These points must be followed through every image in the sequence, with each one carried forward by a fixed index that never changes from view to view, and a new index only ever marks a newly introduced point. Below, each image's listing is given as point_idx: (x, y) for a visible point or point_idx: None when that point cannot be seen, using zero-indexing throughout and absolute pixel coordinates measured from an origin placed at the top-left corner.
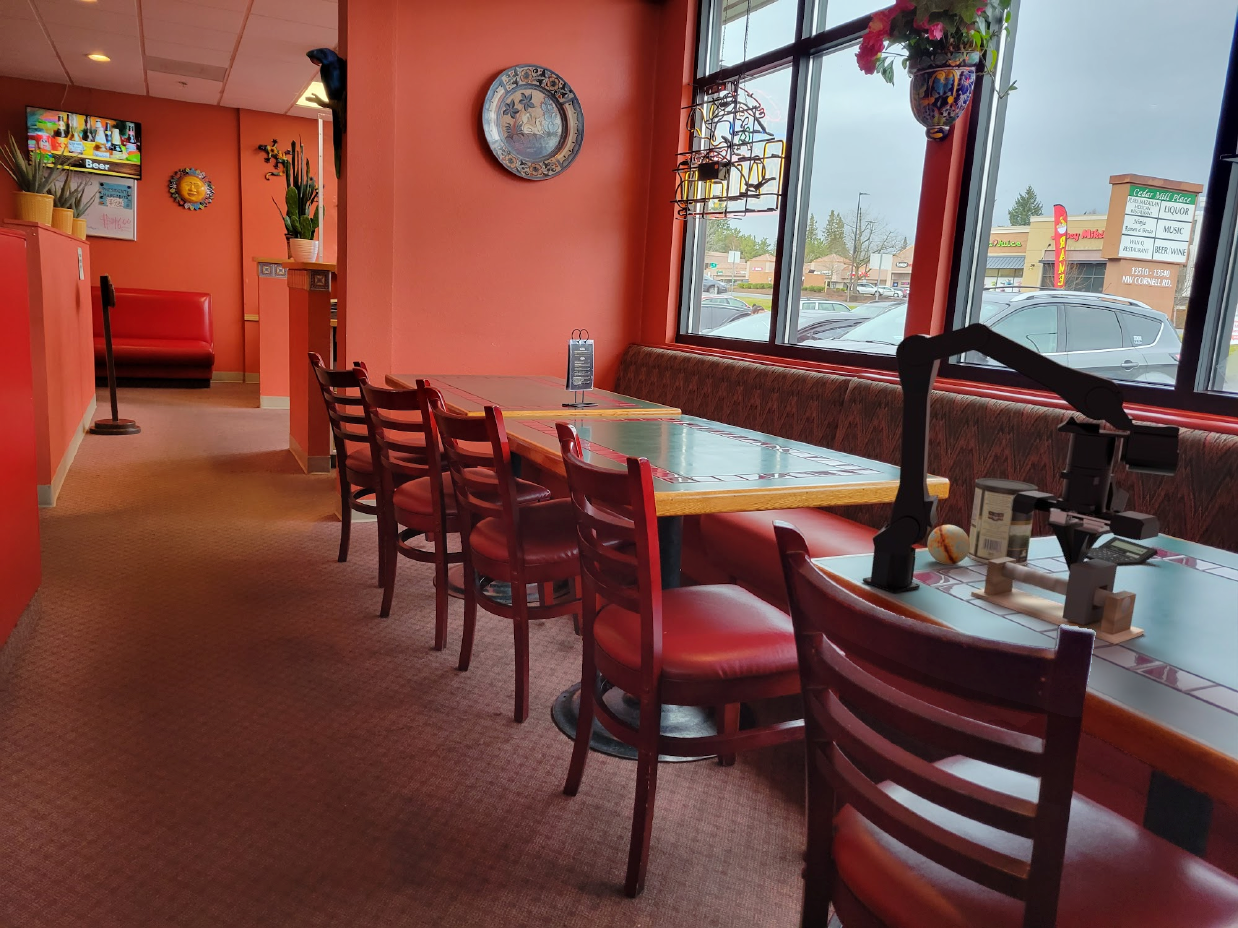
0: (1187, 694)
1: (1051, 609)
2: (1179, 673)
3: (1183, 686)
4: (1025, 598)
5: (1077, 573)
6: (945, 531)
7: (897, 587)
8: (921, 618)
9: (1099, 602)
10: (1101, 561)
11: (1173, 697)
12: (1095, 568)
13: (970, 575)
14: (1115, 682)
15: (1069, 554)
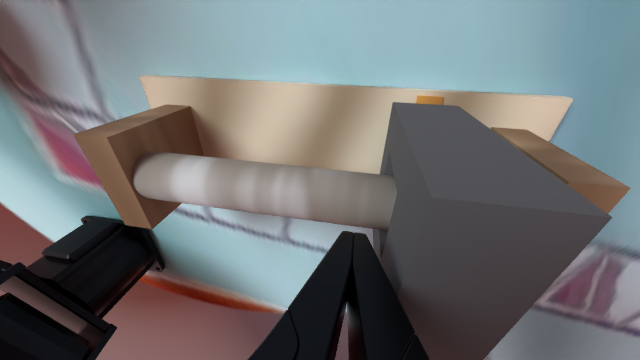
0: (621, 330)
1: (321, 158)
2: (626, 273)
3: (621, 312)
4: (243, 132)
5: None
6: None
7: (150, 260)
8: (253, 309)
9: None
10: (481, 240)
11: (594, 345)
12: (476, 357)
13: (38, 36)
14: (510, 342)
15: (337, 346)
